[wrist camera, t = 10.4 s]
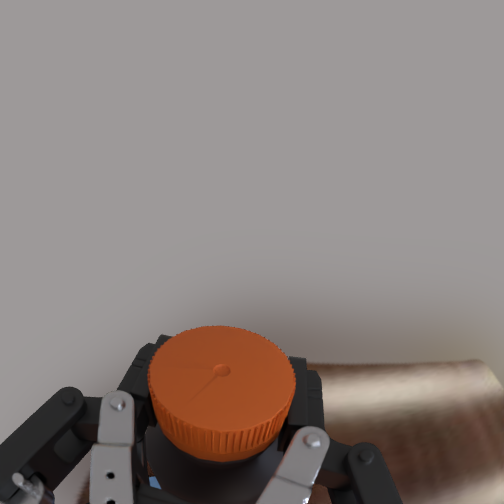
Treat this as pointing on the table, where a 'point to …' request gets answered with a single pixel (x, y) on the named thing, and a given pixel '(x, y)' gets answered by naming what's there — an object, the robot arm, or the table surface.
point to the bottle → (217, 414)
